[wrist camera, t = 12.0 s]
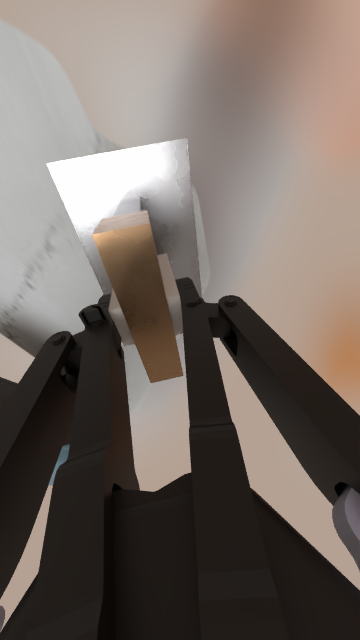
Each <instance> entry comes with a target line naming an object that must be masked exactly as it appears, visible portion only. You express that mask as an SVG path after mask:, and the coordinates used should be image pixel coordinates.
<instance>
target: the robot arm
mask: <svg viewBox="0 0 360 640" xmlns="http://www.w3.org/2000/svg"><path fill="white" fill-rule="evenodd" d="M157 256H158V261H159V265H160V270H161V275H162V279H163V284H164V289H165V294H166V299H167V304H168V308H169V313H170V317H171V322H172V326H173V331H174V335H177V334H181V333H183V336H184V350H185V364H186V377H187V392H188V406H189V420H190V428H189V441H190V457H191V472H192V473H188V474H184V475H183V476H181V477H179V478H178V479H176V480H174V481H173V482H171V483H169V484H168V485H166V486H164V487H163V488H161V489H159V490H158V491H155V492H149V491H140V488H139V483H138V480H137V476H136V473H135V468H134V459H133V449H132V448H133V447H132V437H131V426H130V415H129V405H128V394H127V383H126V372H125V362H124V351H123V349H122V347H121V340H122V342H123V345H124V346H126V345H131V344H135V342H134V340H133V337H132V335H131V332H130V330H129V327H128V325H127V322H126V320H125V317H124V315H123V312H122V310H121V307H120V305H119V302H118V300H117V297H116V295H115V292H114V290H113V289H112V293H111V294H106V295H103V296H102V297H101V298H100V299H99V301H98V304H94V305H90V306H88V307H86V308H84V309H83V310H81V311H80V313H79V317H80V318H81V320H82V322H83V324H84V325H85V330H84V331H82V332H80V333H78V334H75V335H73V336H72V335H71V333H70V332H68V331H62V332H58V333H56V334H54V335H52V336H51V337H50V338H49V339H48V340H47V341H46V342H45V344H44V345H43V347H42V348H41V350H40V351H39V353H38V355H37V356H36V358H35V359H34V361H33V362H32V364H31V365H30V367H29V368H28V370H27V371H26V373H25V374H24V376H23V378H22V379H21V381H20V382H19V383H15V382H12V381H9V380H7V379H4V378H1V377H0V599H1V597H2V595H3V593H4V591H5V589H6V588H7V586H8V584H9V582H10V580H11V578H12V575H13V574H14V571H15V569H16V567H17V565H18V563H19V561H20V559H21V557H22V554H23V552H24V549H25V547H26V544H27V542H28V539H29V537H30V534H31V531H32V529H33V526H34V523H35V521H36V518H37V515H38V512H39V510H40V507H41V504H42V501H43V498H44V496H45V493H46V490H47V488H48V486H49V485H53V488H52V494H51V501H50V506H49V513H48V519H47V525H46V531H45V536H44V542H43V548H42V555H41V560H40V567H39V572H38V574H37V576H36V577H35V579H34V580H33V582H32V584H31V585H30V587H29V588H28V590H27V591H26V593H25V595H24V596H23V598H22V599H21V601H20V602H19V604H18V606H17V607H16V609H15V611H14V612H13V613H12V615H11V617H10V618H9V620H8V621H7V623H6V625H5V626H4V628H3V629H2V631H1V632H0V640H360V590H359V589H358V588H356V587H355V586H354V585H353V584H352V583H351V582H350V581H349V580H348V579H347V578H346V577H345V576H344V575H342V573H341V572H340V571H339V570H337V569H336V568H335V567H334V566H333V565H332V564H331V563H330V562H329V561H328V560H327V559H326V558H324V556H323V555H322V554H321V553H319V552H318V551H317V550H316V549H315V548H314V547H313V546H312V545H311V544H310V543H309V542H308V541H307V540H306V539H305V538H304V537H303V536H302V535H300V534H299V533H298V532H297V531H296V530H295V529H294V528H293V527H292V526H291V525H290V524H289V523H288V522H287V521H286V520H285V519H284V518H282V516H281V515H280V514H278V513H277V512H276V511H275V510H274V509H273V508H272V507H271V506H270V505H269V504H268V503H267V502H266V501H265V500H264V499H263V498H261V496H259V495H258V494H257V493H256V492H255V491H254V490H253V489H251V488H250V485H249V480H248V476H247V472H246V468H245V464H244V460H243V456H242V451H241V447H240V443H239V439H238V435H237V431H236V428H235V425H234V423H233V422H232V419H231V415H230V411H229V406H228V402H227V398H226V393H225V390H224V385H223V380H222V376H221V372H220V367H219V363H218V359H217V354H216V350H215V346H214V341H213V337H215V338H220V340H221V341H222V343H223V345H224V346H225V348H226V349H227V351H228V352H229V354H230V355H231V357H232V358H233V360H234V362H235V363H236V365H237V366H238V368H239V369H240V371H241V373H242V374H243V375H244V377H245V379H246V380H247V382H248V383H249V385H250V386H251V388H252V389H253V391H254V393H255V394H256V396H257V397H258V399H259V400H260V402H261V403H262V405H263V406H264V408H265V410H266V411H267V413H268V414H269V416H270V417H271V419H272V420H273V422H274V423H275V425H276V427H277V428H278V430H279V431H280V433H281V434H282V436H283V437H284V439H285V440H286V442H287V444H288V445H289V446H290V448H291V450H292V451H293V453H294V454H295V456H296V457H297V459H298V460H299V462H300V464H301V465H302V467H303V468H304V470H305V471H306V472H307V474H308V475H309V477H310V478H311V479H312V481H313V482H314V484H315V485H316V486H317V487H318V489H319V490H320V491H321V492H322V493H323V494H324V496H325V497H326V498H327V499H328V501H329V502H330V503H331V504H332V505H333V506H334V507H333V510H332V518H333V523H334V527H335V529H336V531H337V533H338V536H339V537H340V539H341V540H342V542H343V543H344V545H345V546H346V548H347V549H348V551H349V552H350V553H351V555H352V556H353V558H354V560H355V562H356V564H357V566H358V568H359V570H360V416H359V415H358V414H357V413H356V412H355V411H354V410H353V409H352V408H351V407H350V406H349V405H348V404H347V403H346V402H345V401H344V400H343V399H342V398H341V397H340V396H339V395H338V394H337V393H336V392H335V391H334V390H333V389H332V388H331V387H330V386H329V385H328V384H327V383H326V382H325V381H324V380H323V379H322V378H321V377H320V376H319V375H318V374H317V373H316V372H315V371H314V370H313V369H312V368H311V367H310V366H309V365H308V364H307V363H306V362H305V361H304V360H303V359H302V358H301V357H300V356H299V355H298V354H297V353H296V352H295V351H294V350H293V349H292V348H291V347H290V346H289V345H288V344H287V343H286V342H285V341H284V340H283V339H282V338H281V337H280V336H279V335H278V334H277V333H276V332H275V331H274V330H273V329H272V328H271V327H270V326H269V325H268V324H267V323H265V321H264V320H263V319H262V318H261V317H260V316H258V315H257V313H255V311H253V310H252V309H251V308H250V307H249V306H248V305H247V304H246V303H245V302H244V301H243V300H242V299H241V298H240V297H237V296H233V295H229V296H225V297H222V298H221V299H220V300H219V302H218V303H206V302H204V300H203V299H202V298H201V297H200V296H199V294H198V292H197V290H196V287H195V285H194V283H193V281H192V279H190V278H188V277H185V278H180V279H176V280H175V279H174V275H173V272H172V269H171V266H170V262H169V259H168V256H167V253H165V254H160V255H157ZM4 619H5V610H4V608H3V606H0V630H1V628H2V626H3V623H4Z"/></svg>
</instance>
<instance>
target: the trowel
mask: <svg viewBox="0 0 360 640" xmlns="http://www.w3.org/2000/svg"><path fill="white" fill-rule="evenodd" d="M47 166H48V168H49V171H50V173H51V175H52V177H53V180H54V182H55V184H56V186H57V189H58V191H59V193H60V196H61V198H62V200H63V202H64V205H65V207H66V209H67V211H68V214H69V216H70V218H71V221H72V223H73V225H74V227H75V230H76V232H77V234H78V236H79V239H80V241H81V243H82V246H83V248H84V250H85V252H86V255H87V257H88V259H89V261H90V264H91V266H92V268H93V271H94V273H95V275H96V277H97V280H98V282H99V284H100V286H101V289H102V291H103V293H104V295H106V294H111V293H112V289H113V290H114V292H115V295H116V297H117V300H118V302H119V305H120V307H121V310H122V312H123V315H124V317H125V320H126V322H127V325H128V327H129V330H130V332H131V335H132V337H133V340H134V342H135V345H136V347H137V350H138V352H139V355H140V357H141V360H142V362H143V365H144V367H145V370H146V372H147V375H148V377H149V380H150V382H151V383H153V382H157V381H162V380H167V379H171V378H175V377H180V376H183V372H182V367H181V363H180V357H179V352H178V348H177V343H176V338H175V335H174V331H173V326H172V322H171V317H170V313H169V308H168V304H167V299H166V294H165V289H164V284H163V279H162V275H161V270H160V265H159V261H158V256H157V255H160V254H165V253H167V256H168V259H169V262H170V266H171V269H172V272H173V275H174V279H175V280H176V279H180V278H185V277H188V278H190V279H192V281H193V283H194V285H195V287H196V290H197V292H198V294H199V296H200V297H201V298H202V295H201V284H200V273H199V262H198V251H197V240H196V229H195V219H194V208H193V197H192V186H191V177H190V176H191V175H190V165H189V154H188V143H187V138H183V139H178V140H172V141H167V142H161V143H156V144H151V145H145V146H140V147H134V148H129V149H123V150H118V151H112V152H107V153H101V154H96V155H90V156H85V157H80V158H74V159H69V160H63V161H58V162H52V163H47Z"/></svg>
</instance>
